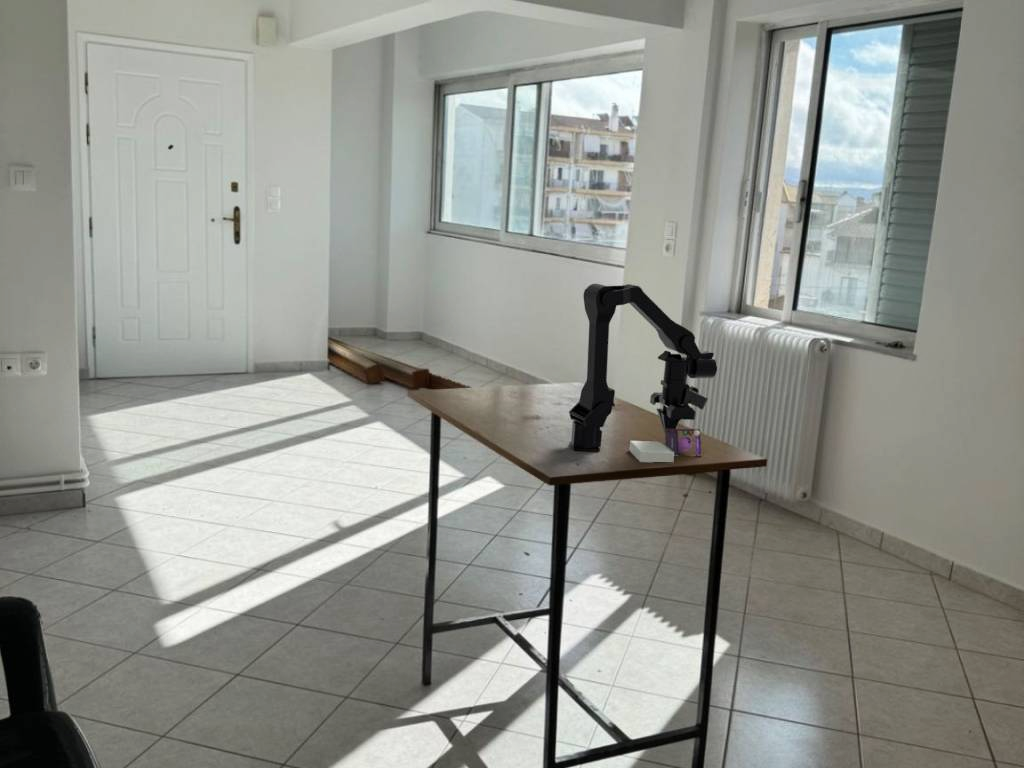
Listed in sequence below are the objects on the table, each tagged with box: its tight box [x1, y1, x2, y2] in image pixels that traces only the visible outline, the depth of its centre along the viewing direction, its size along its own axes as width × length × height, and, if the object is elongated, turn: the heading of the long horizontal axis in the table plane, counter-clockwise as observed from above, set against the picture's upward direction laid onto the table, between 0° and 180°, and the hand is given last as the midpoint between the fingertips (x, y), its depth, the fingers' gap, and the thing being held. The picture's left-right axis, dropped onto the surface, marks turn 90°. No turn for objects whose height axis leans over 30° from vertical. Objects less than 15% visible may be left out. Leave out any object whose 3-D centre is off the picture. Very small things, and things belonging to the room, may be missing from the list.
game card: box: [664, 428, 702, 455], centre depth 231 cm, size 7×5×9 cm
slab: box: [628, 440, 675, 463], centre depth 226 cm, size 8×10×3 cm
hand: (668, 438), depth 239 cm, fingers closed
